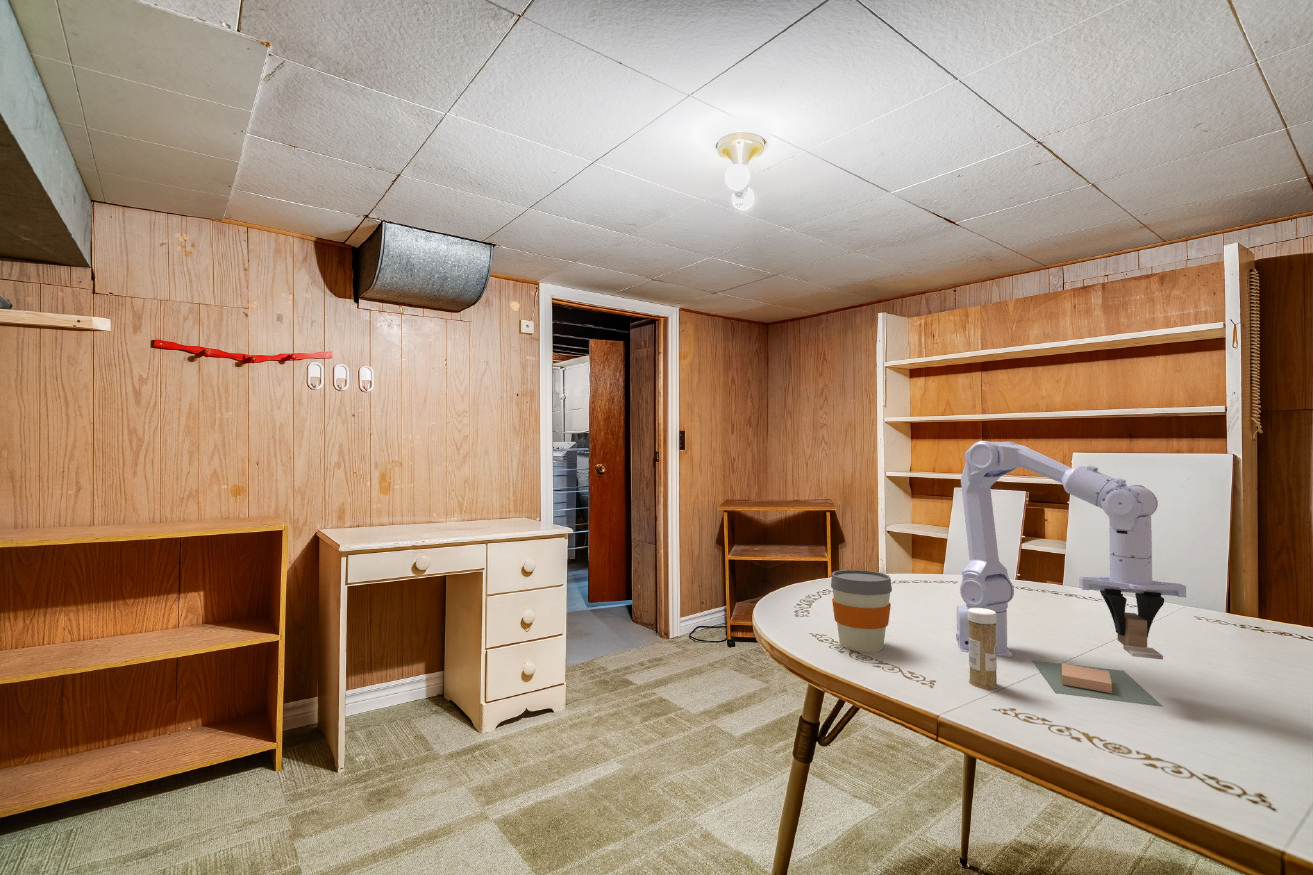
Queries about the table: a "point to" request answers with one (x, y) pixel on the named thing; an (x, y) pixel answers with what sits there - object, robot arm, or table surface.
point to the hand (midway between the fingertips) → (1131, 634)
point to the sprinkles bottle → (982, 648)
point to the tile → (1086, 678)
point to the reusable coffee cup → (861, 608)
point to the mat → (1121, 690)
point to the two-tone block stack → (1137, 638)
